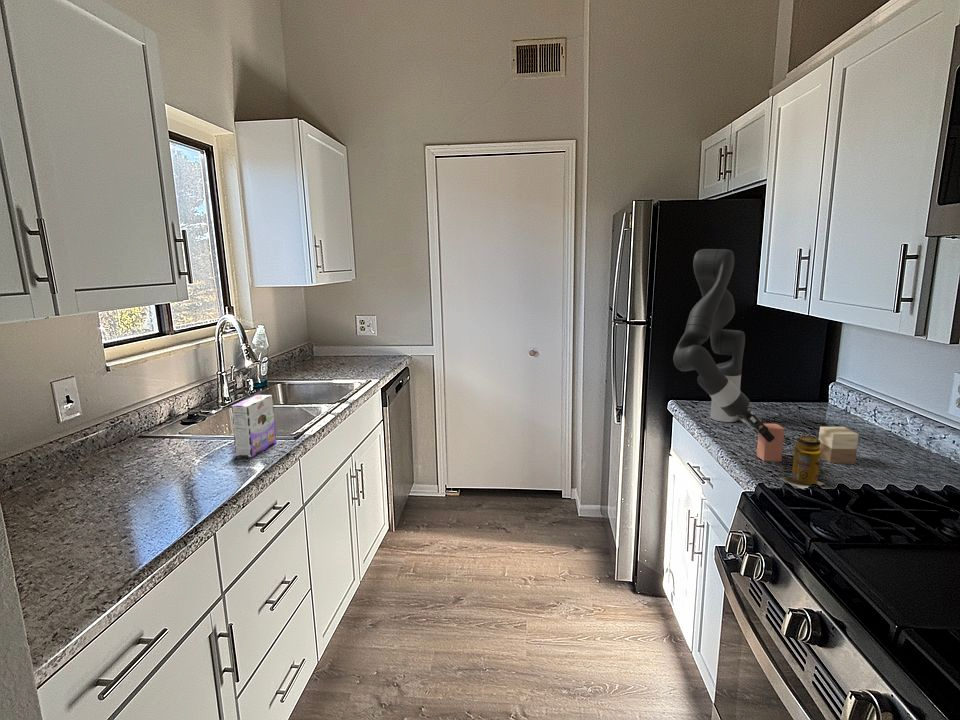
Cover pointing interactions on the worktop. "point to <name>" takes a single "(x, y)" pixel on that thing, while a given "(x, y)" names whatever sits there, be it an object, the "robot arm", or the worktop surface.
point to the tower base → (838, 454)
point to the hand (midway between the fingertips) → (765, 435)
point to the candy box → (253, 425)
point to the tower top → (838, 437)
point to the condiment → (805, 463)
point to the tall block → (771, 444)
